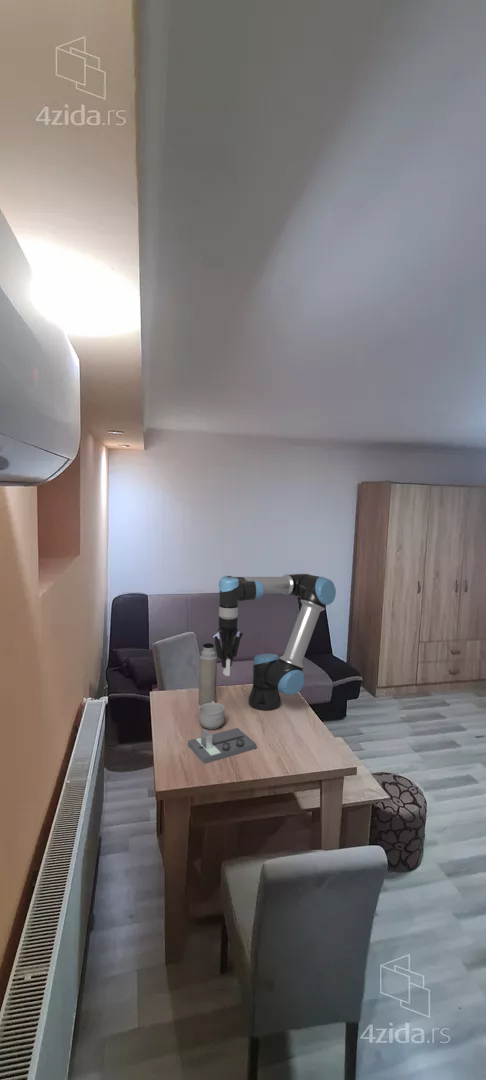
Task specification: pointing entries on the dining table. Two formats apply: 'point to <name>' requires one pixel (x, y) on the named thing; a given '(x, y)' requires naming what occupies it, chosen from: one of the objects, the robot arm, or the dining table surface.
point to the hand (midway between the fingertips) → (226, 674)
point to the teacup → (211, 715)
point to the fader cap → (206, 739)
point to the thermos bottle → (207, 674)
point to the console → (222, 745)
